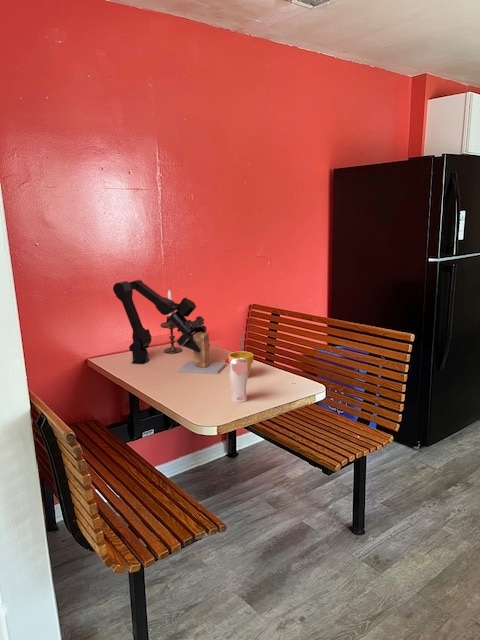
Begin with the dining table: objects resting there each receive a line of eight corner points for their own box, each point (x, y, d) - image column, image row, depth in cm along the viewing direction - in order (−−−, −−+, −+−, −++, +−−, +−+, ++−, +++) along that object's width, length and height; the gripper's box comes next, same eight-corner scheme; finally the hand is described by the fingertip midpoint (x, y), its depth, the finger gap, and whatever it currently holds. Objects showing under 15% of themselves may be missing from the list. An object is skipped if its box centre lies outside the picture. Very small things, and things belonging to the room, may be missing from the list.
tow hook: (224, 364, 222) (244, 363, 221) (222, 337, 219) (242, 336, 218) (225, 359, 230) (245, 358, 229) (223, 333, 227) (243, 332, 227)
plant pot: (258, 377, 201) (257, 355, 199) (236, 382, 196) (236, 359, 194) (246, 371, 210) (245, 349, 208) (225, 375, 205) (224, 353, 203)
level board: (179, 371, 212) (178, 369, 212) (189, 363, 223) (189, 361, 223) (217, 374, 207) (217, 371, 207) (225, 365, 219) (225, 363, 218)
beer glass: (229, 396, 181) (228, 358, 178) (247, 395, 182) (246, 357, 179) (230, 403, 175) (229, 364, 171) (249, 402, 175) (248, 363, 172)
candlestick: (186, 348, 248) (182, 281, 241) (179, 354, 238) (175, 284, 231) (166, 348, 251) (162, 281, 243) (158, 353, 241) (154, 284, 233)
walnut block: (195, 367, 214) (193, 334, 210) (200, 364, 218) (198, 332, 215) (205, 368, 212) (203, 335, 209) (209, 365, 216) (208, 332, 213)
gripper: (181, 315, 203) (206, 342, 201) (202, 307, 220) (224, 332, 218) (166, 332, 208) (190, 359, 206) (187, 323, 224) (209, 347, 222)
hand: (204, 349), depth 213 cm, fingers open, 9 cm apart
